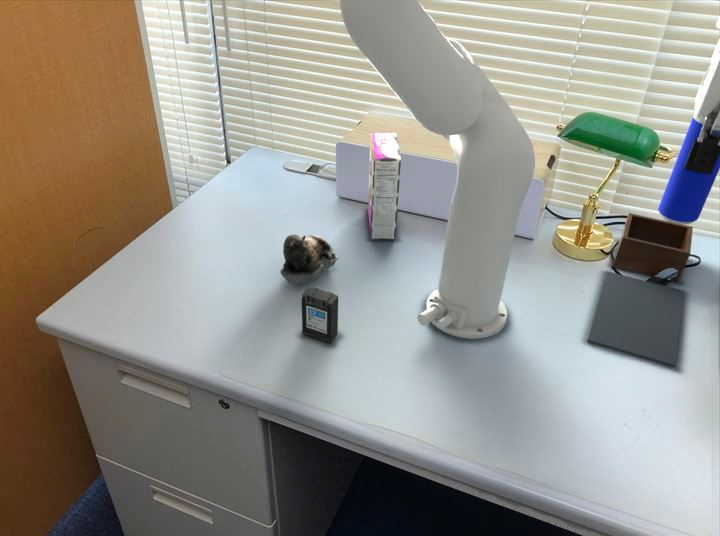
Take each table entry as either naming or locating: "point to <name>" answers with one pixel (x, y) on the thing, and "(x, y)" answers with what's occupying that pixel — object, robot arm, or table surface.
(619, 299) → the desk mat
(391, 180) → the candy bar box
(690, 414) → the table surface
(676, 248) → the brown wooden box
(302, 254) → the bison figurine
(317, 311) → the ink cartridge
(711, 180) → the beverage can
